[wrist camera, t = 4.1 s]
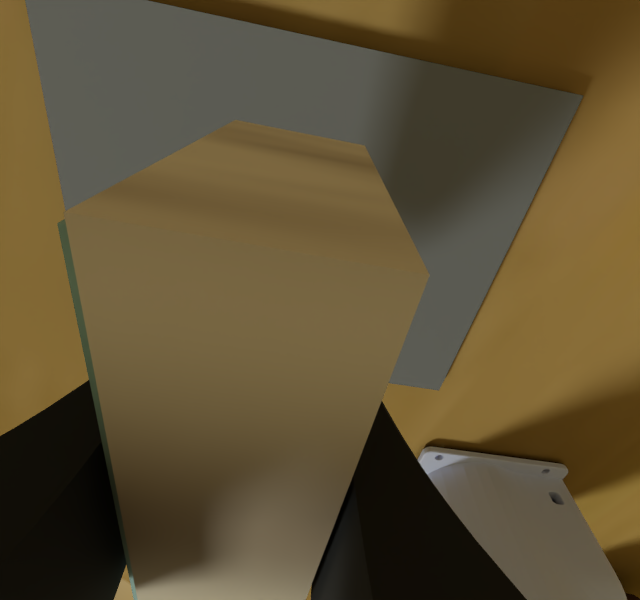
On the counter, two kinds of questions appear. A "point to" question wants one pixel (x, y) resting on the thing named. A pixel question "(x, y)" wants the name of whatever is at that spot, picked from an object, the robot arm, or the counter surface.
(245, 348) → the tile
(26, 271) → the counter surface
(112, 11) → the mat
